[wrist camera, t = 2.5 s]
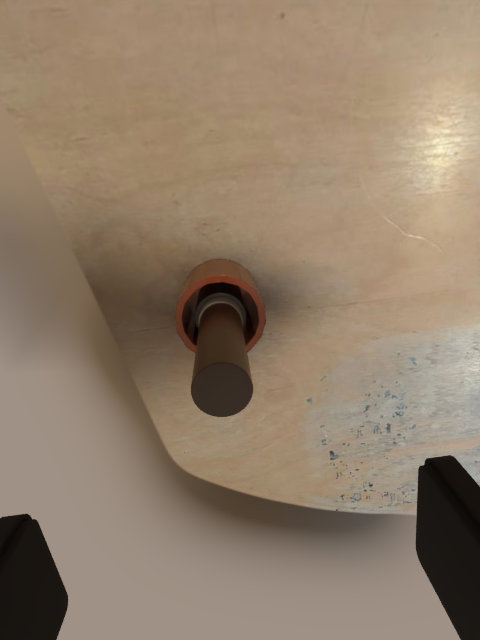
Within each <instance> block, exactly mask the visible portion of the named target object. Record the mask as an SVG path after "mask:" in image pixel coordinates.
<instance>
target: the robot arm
mask: <svg viewBox="0 0 480 640" xmlns="http://www.w3.org/2000/svg"><path fill="white" fill-rule="evenodd" d="M416 551H417V555H418V558H419V561H420V563H421V565H422V567H423V569H424V571H425V572H426V574H427V576H428V578H429V580H430V582H431V584H432V586H433V588H434V590H435V592H436V593H437V595H438V597H439V599H440V601H441V603H442V605H443V607H444V608H445V610H446V612H447V614H448V616H449V618H450V620H451V622H452V624H453V626H454V628H455V629H456V631H457V633H458V635H459V637H460V639H461V640H480V486H479V485H478V484H477V483H476V482H475V481H474V479H473V478H472V477H471V476H470V475H469V474H468V472H467V471H466V470H465V469H464V468H463V467H462V465H461V464H460V463H459V462H458V461H457V460H456V459H455V458H454V457H453V456H451V455H449V456H442V457H434V458H428V459H426V460H425V464H424V466H420V467H419V471H418V498H417V525H416ZM67 606H68V595H67V592H66V590H65V587H64V585H63V582H62V580H61V577H60V575H59V572H58V570H57V568H56V565H55V563H54V560H53V558H52V555H51V553H50V550H49V548H48V546H47V543H46V541H45V538H44V536H43V533H42V531H41V528H40V526H39V524H38V522H37V520H35V519H33V520H32V518H31V517H30V515H28V514H21V515H14V516H7V517H2V518H0V640H56V639H57V636H58V634H59V631H60V628H61V625H62V623H63V620H64V617H65V614H66V611H67Z"/></svg>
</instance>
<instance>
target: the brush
mask: <svg viewBox="0 0 480 640" xmlns="http://www.w3.org/2000/svg"><path fill="white" fill-rule="evenodd" d="M195 323H196V326H197V328H198V330H199V331H198V339H197V346H196V354H195V361H194V369H193V376H192V384H191V395H192V398H193V401H194V402H195V404H196V405H197V407H198V408H199V409H200V410H202V411H203V412H205V413H207V414H209V415H212V416H216V417H227V416H231V415H234V414H236V413H238V412H240V411H241V410H243V409H244V408H245V407H246V406H247V405H248V403H249V402H250V400H251V397H252V394H253V384H252V378H251V373H250V367H249V361H248V355H247V350H246V344H245V338H244V332H243V328H244V326H245V323H246V311H245V306H244V302H243V297H242V293H241V290H240V288H239V286H237V285H233V284H229V283H225V282H219V283H211V284H207V285H205V286H203V287H201V288H200V290H199V294H198V300H197V305H196V311H195Z"/></svg>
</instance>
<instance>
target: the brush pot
mask: <svg viewBox="0 0 480 640" xmlns="http://www.w3.org/2000/svg"><path fill="white" fill-rule="evenodd" d="M219 282H225V283H229V284H233V285H237V286H239V288H240V290H241V293H242V297H243V302H244V306H245V311H246V323H245V326H244V328H243V332H244V338H245V344H246V350H247V352H248V351H250V350H251V349H252V348H253V347H254V345H255V344H256V343H257V342H258V341H259V339H260V338H261V336H262V333H263V330H264V327H265V324H266V316H265V307H264V303H263V301H262V298H261V295H260V293H259V290H258V288H257V285H256V283H255V282H254V280H253V277H252V276H251V274H250V273H249V272H248V271H247V270H246V269H245V268H244V267H243V266H241V265H240V264H238V263H236V262H233V261H230V260H226V259H214V260H209V261H206V262H204V263H202V264H200V265H199V266H197V267H196V268H195V269H194V270H193V271H192V272H191V273H190V274H189V276H188V277H187V279H186V280H185V282H184V285H183V288H182V291H181V294H180V297H179V300H178V304H177V308H176V312H175V323H176V328H177V333H178V335H179V336H180V338H181V339H182V341H183V342H184V344H185V345H186V347H187V348H188V349H190V350H191V351H193V352H194V353H196V346H197V339H198V331H199V330H198V328H197V326H196V323H195V311H196V305H197V300H198V294H199V290H200V288H201V287H203V286H205V285H207V284H211V283H219Z"/></svg>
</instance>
